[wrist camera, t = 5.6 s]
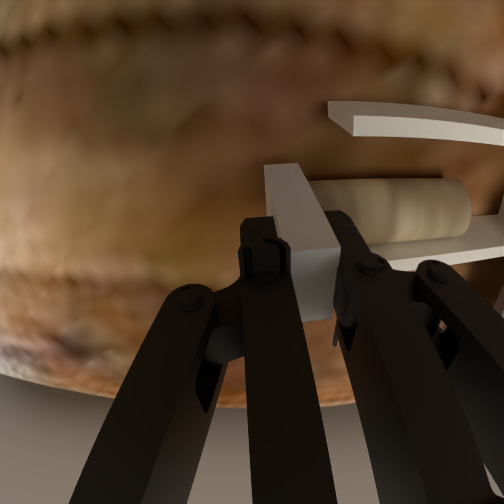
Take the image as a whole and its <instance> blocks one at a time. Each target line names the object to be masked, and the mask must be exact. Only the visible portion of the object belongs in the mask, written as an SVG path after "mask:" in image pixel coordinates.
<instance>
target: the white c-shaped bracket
mask: <svg viewBox="0 0 504 504" xmlns="http://www.w3.org/2000/svg"><path fill="white" fill-rule="evenodd" d="M328 118H330V119H331V120H332V121H334V122H335V123H337V124H338V125H339V126H340V127H342V128H343V129H344V130H346V131H347V132H348V133H350V134H351V135H352V136H385V137H414V138H432V139H446V140H458V141H468V142H477V143H486V144H494V145H501V146H504V119H503V118H498V117H493V116H488V115H483V114H478V113H472V112H466V111H460V110H453V109H446V108H438V107H430V106H421V105H410V104H399V103H384V102H363V101H328ZM367 246H368V247H369V249H370V251H371V252H372V253H375V254H378V255H380V256H382V257H383V258H385V259H386V260H387V261H388V262H389V264H390V265H391V267H392V269H395V270H400V271H411V270H416V269H417V266H418V264H419V263H421V262H422V261H424V260H430V259H431V260H438V261H441V262H444V263H446V264H447V265H453V264H459V263H466V262H472V261H478V260H484V259H490V258H496V257H502V256H504V195H503V199H502V203H501V206H500V210H499V213H498V214H496V215H479V216H471V220H470V224H469V226H468V228H467V230H466V232H465V233H464V234H463V235H461V236H458V237H447V238H436V239H424V240H413V241H402V242H390V243H379V244H368V245H367Z"/></svg>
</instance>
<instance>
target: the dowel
mask: <svg viewBox="0 0 504 504" xmlns="http://www.w3.org/2000/svg"><path fill="white" fill-rule="evenodd" d="M308 183H309V185H310V187H311V189H312V191H313V193H314V194H315V196H316V198H317V200H318V202H319V204H320V206H321V208H322V210H323V211H334V210H341V211H343V212H344V213H345V214H347V215H348V216H350V217H351V219H352V221H353V222H354V224H355V226H356V227H357V229H358V230H359V233H360V234H361V235H362V237H363V239H364V241H365V242H366V244H367V245H368V244H379V243H390V242H402V241H413V240H424V239H436V238H447V237H458V236H461V235H463V234H464V233H465V232H466V230H467V228H468V226H469V224H470V220H471V201H470V197H469V194H468V191H467V189H466V187H465V186H464V184H463V183H462V182H460V181H459V180H457V179H446V178H378V179H343V180H320V181H308Z"/></svg>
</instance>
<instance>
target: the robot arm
mask: <svg viewBox="0 0 504 504" xmlns="http://www.w3.org/2000/svg"><path fill="white" fill-rule="evenodd" d="M264 176H265V194H266V212H267V216H266V217H254V218H245V220H244V221H243V222H242V224H241V225H240V240H241V246H240V247H239V250H238V258H239V267H240V277H239V279H238V280H237V281H236V282H235V283H233V284H232V285H230V286H229V287H227V288H224V289H222V290H219V291H215V292H213V291H212V290H211V289H210V288H208V287H207V286H204V285H200V284H187V285H184V286H181V287H178V288H177V289H175V290H173V291H172V292H171V293H170V294H169V295H168V296H167V298H166V299H165V301H164V303H163V305H162V307H161V308H160V310H159V312H158V314H157V316H156V318H155V320H154V322H153V324H152V325H151V327H150V329H149V331H148V333H147V335H146V337H145V339H144V341H143V343H142V345H141V347H140V349H139V351H138V353H137V355H136V357H135V359H134V361H133V363H132V365H131V367H130V369H129V371H128V373H127V375H126V377H125V379H124V381H123V383H122V385H121V387H120V389H119V391H118V393H117V395H116V397H115V400H114V402H113V404H112V406H111V408H110V410H109V412H108V414H107V417H106V419H105V421H104V423H103V425H102V427H101V430H100V432H99V434H98V436H97V438H96V441H95V443H94V445H93V447H92V450H91V452H90V454H89V456H88V459H87V461H86V463H85V466H84V468H83V470H82V473H81V475H80V478H79V480H78V482H77V485H76V487H75V489H74V492H73V495H72V497H71V499H70V502H69V504H187V501H188V497H189V494H190V491H191V487H192V484H193V481H194V478H195V474H196V471H197V468H198V464H199V461H200V457H201V454H202V451H203V447H204V444H205V441H206V437H207V434H208V430H209V427H210V423H211V420H212V417H213V413H214V410H215V407H216V403H217V400H218V397H219V393H220V390H221V386H222V383H223V380H224V376H225V373H226V369H227V366H228V362H230V361H232V360H235V359H238V358H241V357H243V356H244V359H245V379H246V399H247V416H248V434H249V453H250V469H251V486H252V499H253V500H252V501H253V504H337V498H336V492H335V487H334V480H333V475H332V469H331V463H330V458H329V452H328V447H327V442H326V436H325V431H324V426H323V421H322V416H321V411H320V405H319V400H318V396H317V391H316V386H315V381H314V376H313V371H312V366H311V362H310V357H309V352H308V348H307V343H306V338H305V334H304V329H303V325H302V322H305V321H314V320H322V319H330V318H332V313H333V306H334V309H335V312H336V315H337V320H336V326H335V332H334V337H333V346H336V345H337V340H339V343H340V347H341V350H342V354H343V357H344V361H345V364H346V368H347V371H348V375H349V378H350V382H351V386H352V389H353V393H354V397H355V401H356V404H357V408H358V412H359V416H360V420H361V424H362V428H363V432H364V436H365V440H366V444H367V448H368V452H369V457H370V461H371V465H372V470H373V474H374V479H375V483H376V488H377V492H378V498H379V502H380V504H504V498H502V497H500V496H497V495H496V494H495V493H494V492H493V491H492V489H491V486H490V483H489V480H488V477H487V473H486V470H485V467H484V464H485V466H486V468H487V469H488V470H489V472H490V474H491V475H492V477H493V479H494V481H495V482H496V484H497V485H498V487H499V489H500V491H501V492H502V494H503V496H504V318H503V317H502V316H501V315H500V314H499V313H498V312H497V311H496V310H495V309H494V308H493V307H492V306H491V305H490V304H489V303H488V302H487V301H486V300H485V299H484V298H483V297H482V296H481V295H480V294H479V293H478V292H477V291H476V290H475V289H474V288H473V287H472V286H471V285H470V284H469V283H468V282H467V281H466V280H465V279H464V278H463V277H461V276H460V275H459V274H458V273H457V272H456V271H455V270H454V269H453V268H452V267H450V266H449V265H447V264H446V263H444V262H441V261H438V260H431V259H430V260H424V261H422V262H421V263H419V264H418V266H417V269H416V272H409V271H400V270H395V269H392V267H391V265H390V264H389V262H388V261H387V260H386V259H385V258H383V257H382V256H380V255H378V254H375V253H372V252H371V251H370V249H369V247H368V246H367V244H366V242H365V241H364V239H363V237H362V235H361V234H360V233H359V230H358V229H357V227H356V226H355V224H354V222H353V221H352V219H351V217H350V216H348V215H347V214H345V213H344V212H343V211H341V210H334V211H323V210H322V208H321V206H320V204H319V202H318V200H317V198H316V196H315V194H314V193H313V191H312V189H311V187H310V185H309V183H308V181H307V179H306V177H305V176H304V174H303V172H302V170H301V168H300V166H299V165H298V163H287V164H271V165H264ZM441 320H442V321H443V322H444V323H445V324H446V326H447V328H446V330H442V329H441V328H440V327H439V324H440V322H441ZM483 463H484V464H483Z"/></svg>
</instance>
